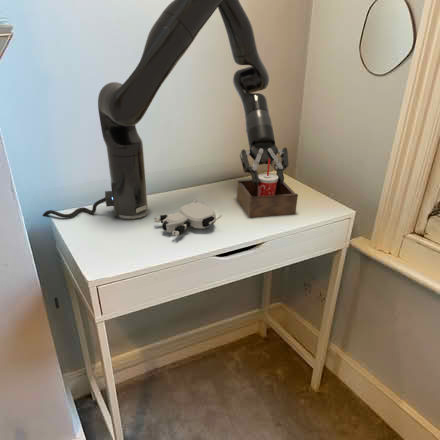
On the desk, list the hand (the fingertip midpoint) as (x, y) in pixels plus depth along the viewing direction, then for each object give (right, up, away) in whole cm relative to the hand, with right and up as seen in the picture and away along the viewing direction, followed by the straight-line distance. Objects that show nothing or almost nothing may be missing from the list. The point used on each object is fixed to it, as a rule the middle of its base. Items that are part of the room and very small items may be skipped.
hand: (269, 184), depth 123 cm
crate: (-1, -5, +5) cm, 8 cm away
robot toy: (-23, -14, -7) cm, 27 cm away
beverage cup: (-1, -5, +6) cm, 8 cm away
